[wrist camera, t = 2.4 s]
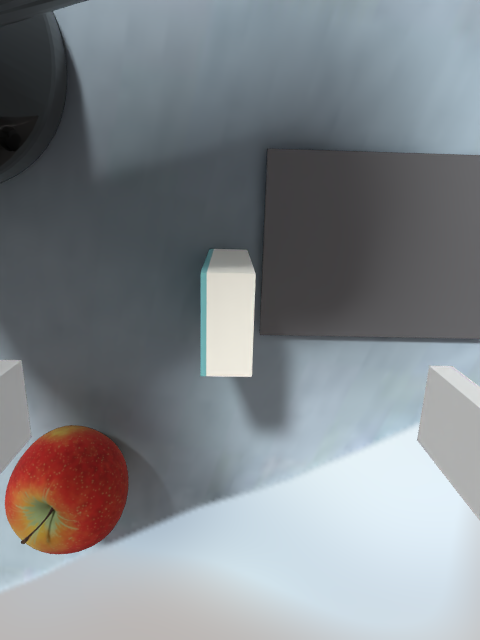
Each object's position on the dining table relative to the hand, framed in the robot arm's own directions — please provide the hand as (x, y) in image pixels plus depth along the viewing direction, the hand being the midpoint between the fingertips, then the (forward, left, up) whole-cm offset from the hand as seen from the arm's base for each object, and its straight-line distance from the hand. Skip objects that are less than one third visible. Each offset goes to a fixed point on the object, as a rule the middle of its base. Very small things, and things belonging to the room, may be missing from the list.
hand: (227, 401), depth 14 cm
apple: (-11, -14, -18) cm, 25 cm away
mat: (+11, +3, -18) cm, 21 cm away
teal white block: (0, 0, -18) cm, 18 cm away
